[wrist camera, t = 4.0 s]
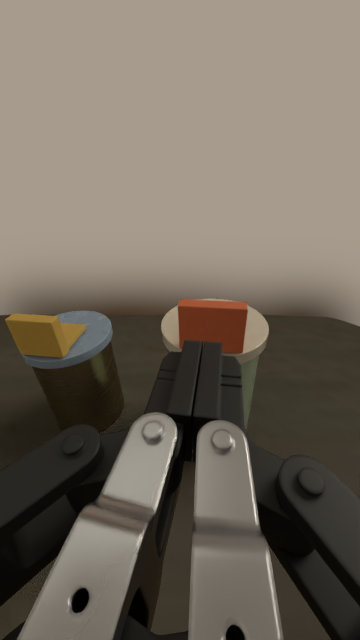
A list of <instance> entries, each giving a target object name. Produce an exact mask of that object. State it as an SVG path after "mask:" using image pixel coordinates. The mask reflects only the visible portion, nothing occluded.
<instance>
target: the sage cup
mask: <svg viewBox="0 0 360 640" xmlns="http://www.w3.org/2000/svg"><path fill="white" fill-rule="evenodd" d="M200 300H209V301H230V300H223V299H200ZM231 302H235V301H231ZM161 334H162V340H163V343H164V345H165V346H166V348H167V349H168V354H169V353H170V352H171V351H175V352H181V351H182V349H180V345H179V323H178V306H176V307H174V308H173V309H171V310H170V311H169V312H168V313H167V314H166V315H165V316H164V318H163V320H162V323H161ZM268 334H269V327H268V324H267V321H266V320H265V318H264V317H263V316H262V315H261V314H260V313H259V312H258V311H256V310H255V309H253V308H251V307H249V306H248V314H247V322H246V331H245V339H244V347H243V353H231V352H222V355H224V356H235V357H236V359H237V360H238V362H239V363H240V365H241V372H242V391H243V411H244V426H245V429H246V432H247V427H248V421H249V415H250V409H251V403H252V397H253V391H254V385H255V379H256V373H257V367H258V361H259V355H260V353H261V352H262V351H263V350H264V348H265V346H266V344H267V339H268Z"/></svg>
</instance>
